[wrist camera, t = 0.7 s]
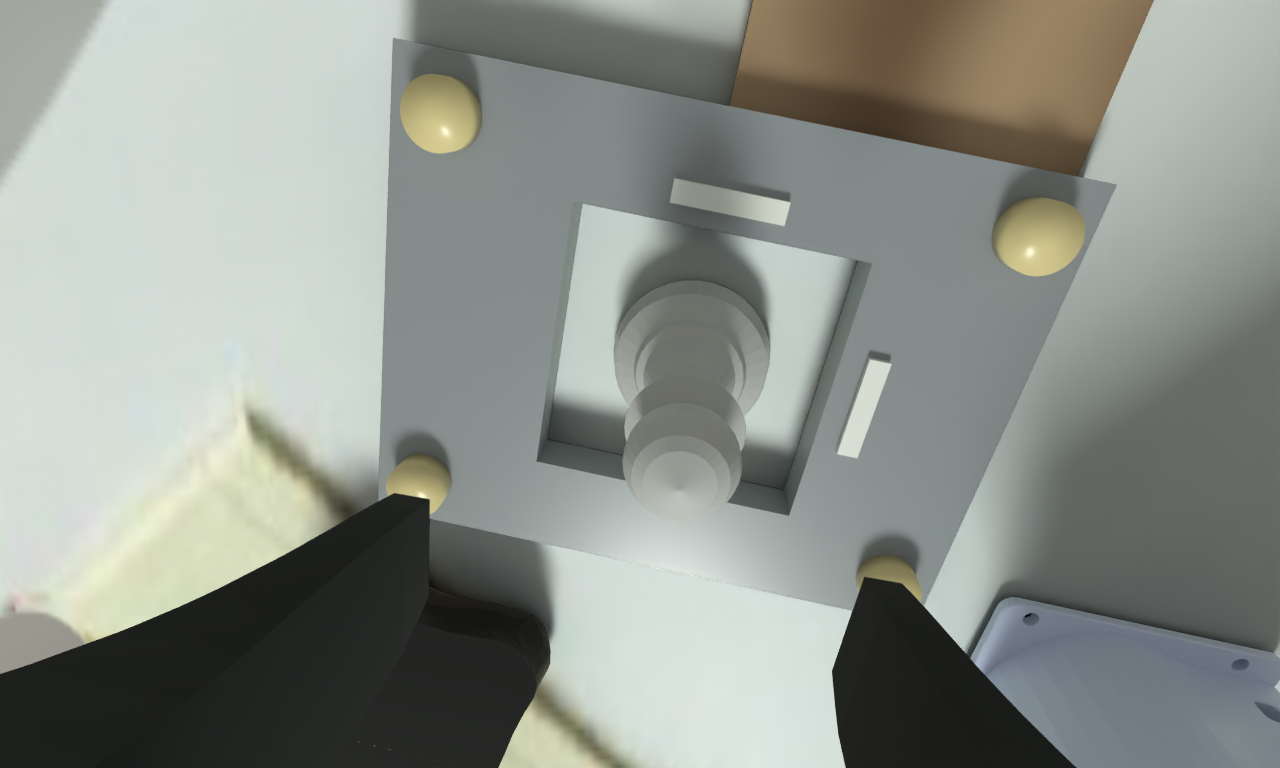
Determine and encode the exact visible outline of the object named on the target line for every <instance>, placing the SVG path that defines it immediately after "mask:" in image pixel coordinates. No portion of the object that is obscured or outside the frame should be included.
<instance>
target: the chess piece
mask: <svg viewBox="0 0 1280 768" xmlns="http://www.w3.org/2000/svg"><path fill="white" fill-rule="evenodd" d="M769 360H770V347H769V341H768V335H767V333H766V330H765V328H764V325H763V323H762V320H761V319H760V318H759V316H758V315H757V313H756V312H755V310H754V309H753V308H752V307H751V306H750V305H749V304H748V303H747V302H746V301H745V300H744V299H743V298H742V297H741V296H739V295H738V294H736V293H734V292H733V291H731V290H730V289H728V288H725V287H723V286H720V285H718V284H715V283H711V282H705V281H700V280H682V281H677V282H672V283H668V284H665V285H662V286H660V287H658V288H655V289H653V290H651V291H650V292H648V293H647V294H645V295H644V296H642V297H641V298H640V299H639V300H638V301H637V302H636V303H635V304H634V305H633V306H632V307H631V308H630V309H629V310H628V312H627V313H626V315H625V316H624V318H623V320H622V321H621V323H620V326H619V329H618V331H617V334H616V338H615V345H614V363H615V375H616V379H617V382H618V386H619V389H620V391H621V393H622V395H623V397H624V399H625V401H626V402H627V403H628V405H629V409H628V411H627V414H626V418H625V424H624V428H625V438H626V445H625V448H624V454H623V460H622V463H623V473H624V476H625V480H626V483H627V485H628V487H629V489H630V491H631V493H632V494H633V496H634V497H635V498H636V499H637V501H638V502H639V503H640V504H641V505H642V506H643V507H645V508H646V509H647V510H648V511H650V512H651V513H653V514H654V515H656V516H658V517H660V518H663V519H666V520H670V521H675V522H690V521H696V520H699V519H702V518H705V517H707V516H709V515H711V514H713V513H714V512H716V511H717V510H719V509H720V508H721V507H722V506H723V505H725V504H726V503H727V502H728V500H729V499H730V498H731V497H732V495H733V494H734V492H735V490H736V488H737V486H738V484H739V481H740V477H741V473H742V457H741V451H742V449H743V446H744V442H745V438H746V424H745V419H744V415H745V414H747V413H748V412H749V410H750V409H751V408H752V407H753V405H754V404H755V403H756V401H757V400H758V398H759V396H760V394H761V391H762V389H763V387H764V383H765V379H766V375H767V371H768V367H769Z"/></svg>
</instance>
